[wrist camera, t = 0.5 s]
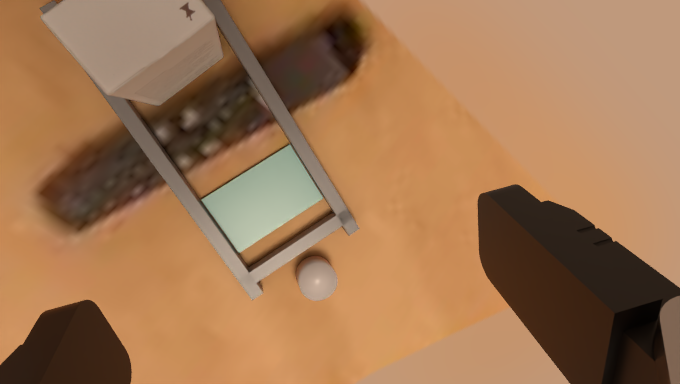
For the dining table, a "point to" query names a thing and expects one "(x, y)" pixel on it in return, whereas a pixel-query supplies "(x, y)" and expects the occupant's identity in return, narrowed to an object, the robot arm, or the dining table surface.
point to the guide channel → (254, 188)
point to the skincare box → (138, 43)
